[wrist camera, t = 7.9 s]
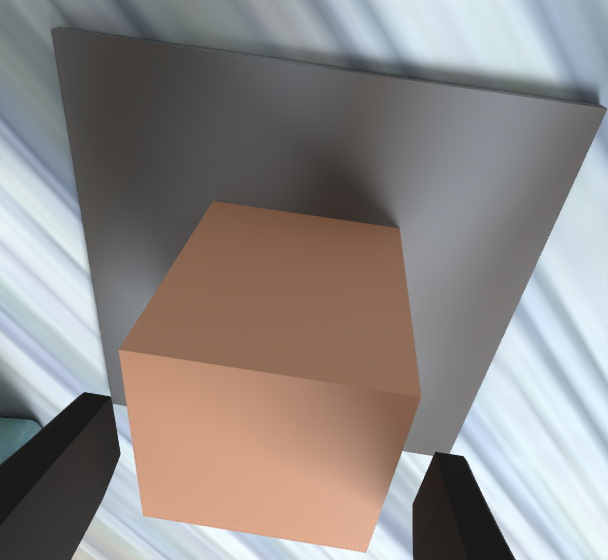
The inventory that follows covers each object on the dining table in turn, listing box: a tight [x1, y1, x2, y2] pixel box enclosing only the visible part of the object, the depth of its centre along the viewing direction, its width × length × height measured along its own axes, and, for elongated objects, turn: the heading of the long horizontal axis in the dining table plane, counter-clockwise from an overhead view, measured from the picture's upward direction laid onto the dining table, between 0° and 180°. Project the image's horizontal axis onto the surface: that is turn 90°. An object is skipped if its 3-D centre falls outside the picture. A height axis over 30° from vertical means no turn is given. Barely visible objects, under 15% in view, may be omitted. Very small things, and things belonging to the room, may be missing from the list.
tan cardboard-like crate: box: [119, 201, 422, 553], centre depth 13 cm, size 6×6×7 cm
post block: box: [51, 27, 607, 456], centre depth 14 cm, size 14×14×5 cm
